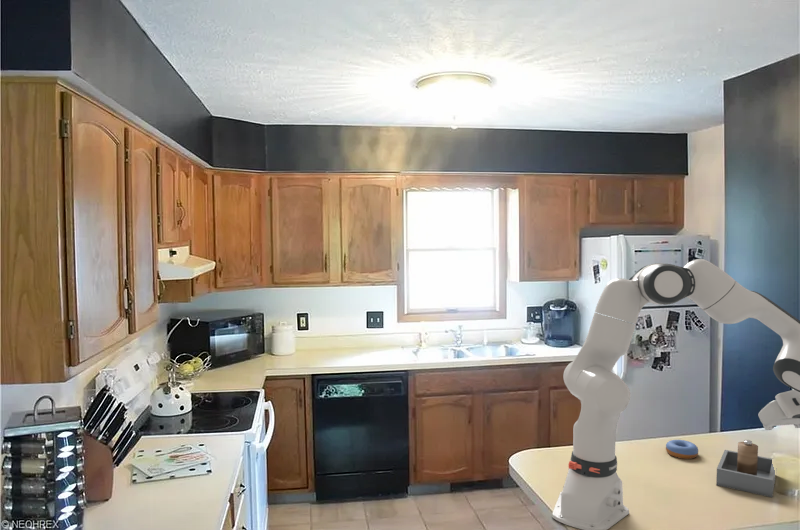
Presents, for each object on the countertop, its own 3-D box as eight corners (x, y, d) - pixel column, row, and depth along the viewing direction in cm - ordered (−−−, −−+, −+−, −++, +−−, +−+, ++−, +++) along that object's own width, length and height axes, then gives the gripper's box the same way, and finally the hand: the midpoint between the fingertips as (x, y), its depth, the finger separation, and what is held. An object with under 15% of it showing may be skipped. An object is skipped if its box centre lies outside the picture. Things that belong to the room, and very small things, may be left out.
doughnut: (704, 459, 190) (703, 445, 190) (674, 461, 190) (673, 447, 191) (689, 450, 200) (688, 437, 200) (661, 452, 200) (660, 439, 200)
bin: (772, 497, 163) (772, 480, 163) (716, 485, 172) (716, 468, 171) (776, 475, 178) (776, 459, 178) (724, 464, 186) (724, 449, 186)
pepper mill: (756, 482, 171) (757, 445, 171) (736, 478, 174) (737, 441, 174) (757, 476, 175) (758, 440, 175) (737, 472, 178) (738, 436, 178)
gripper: (839, 389, 155) (807, 414, 165) (772, 393, 152) (743, 418, 162) (854, 411, 151) (820, 434, 161) (785, 415, 148) (755, 439, 158)
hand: (781, 426), depth 161 cm, fingers open, 8 cm apart
